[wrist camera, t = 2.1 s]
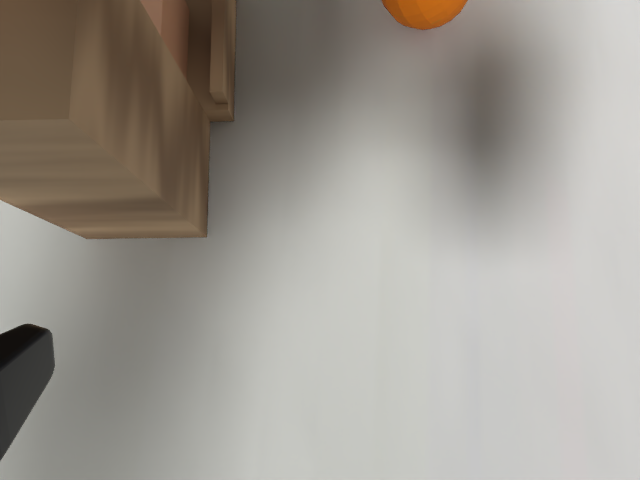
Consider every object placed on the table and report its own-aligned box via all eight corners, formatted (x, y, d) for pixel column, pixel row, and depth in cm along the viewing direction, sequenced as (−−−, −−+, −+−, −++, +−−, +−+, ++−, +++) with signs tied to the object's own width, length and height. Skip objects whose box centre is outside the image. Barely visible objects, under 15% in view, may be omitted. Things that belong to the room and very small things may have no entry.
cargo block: (186, 87, 25) (160, 44, 21) (102, 89, 25) (62, 46, 21) (189, 10, 25) (164, -45, 22) (107, 12, 25) (70, -42, 22)
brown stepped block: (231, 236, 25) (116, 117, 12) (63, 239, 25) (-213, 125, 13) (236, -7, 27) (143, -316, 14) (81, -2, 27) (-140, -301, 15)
